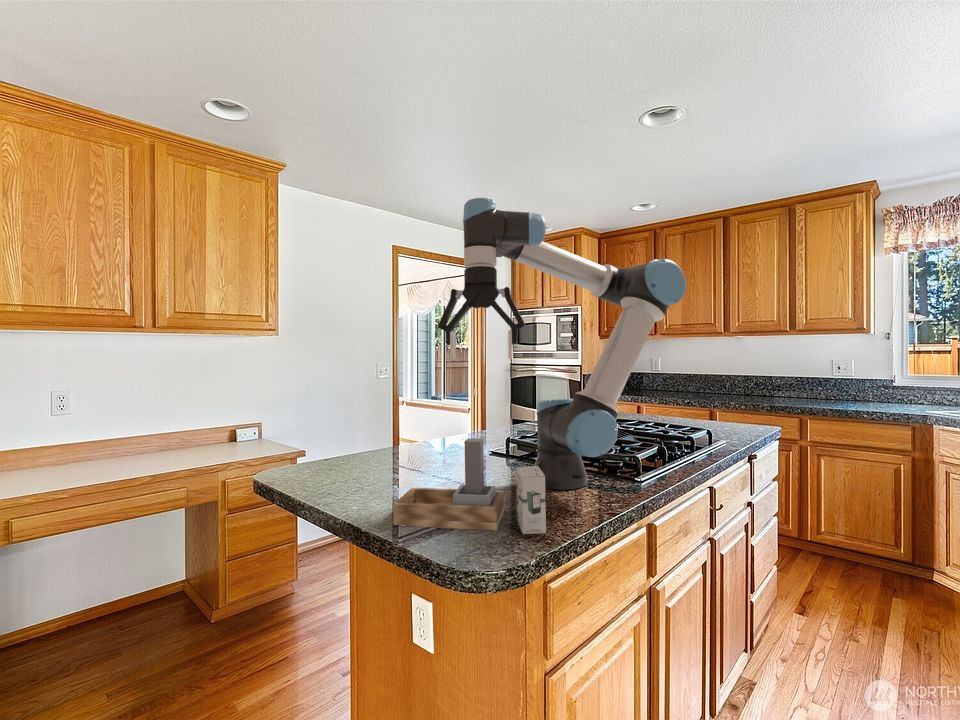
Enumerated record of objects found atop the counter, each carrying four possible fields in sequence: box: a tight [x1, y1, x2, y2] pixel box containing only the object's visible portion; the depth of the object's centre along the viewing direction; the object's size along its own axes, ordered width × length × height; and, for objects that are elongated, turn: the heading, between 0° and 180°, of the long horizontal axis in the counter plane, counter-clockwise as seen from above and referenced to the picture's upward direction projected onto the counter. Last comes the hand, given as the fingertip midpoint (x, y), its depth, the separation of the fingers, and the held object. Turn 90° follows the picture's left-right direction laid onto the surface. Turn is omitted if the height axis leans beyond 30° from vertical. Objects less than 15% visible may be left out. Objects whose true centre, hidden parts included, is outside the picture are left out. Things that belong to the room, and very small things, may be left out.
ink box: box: [515, 465, 547, 535], centre depth 104 cm, size 9×5×12 cm, turn 5°
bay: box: [392, 487, 505, 531], centre depth 111 cm, size 22×13×4 cm, turn 80°
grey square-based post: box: [453, 438, 497, 506], centre depth 110 cm, size 8×8×15 cm
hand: (481, 359), depth 117 cm, fingers open, 13 cm apart
